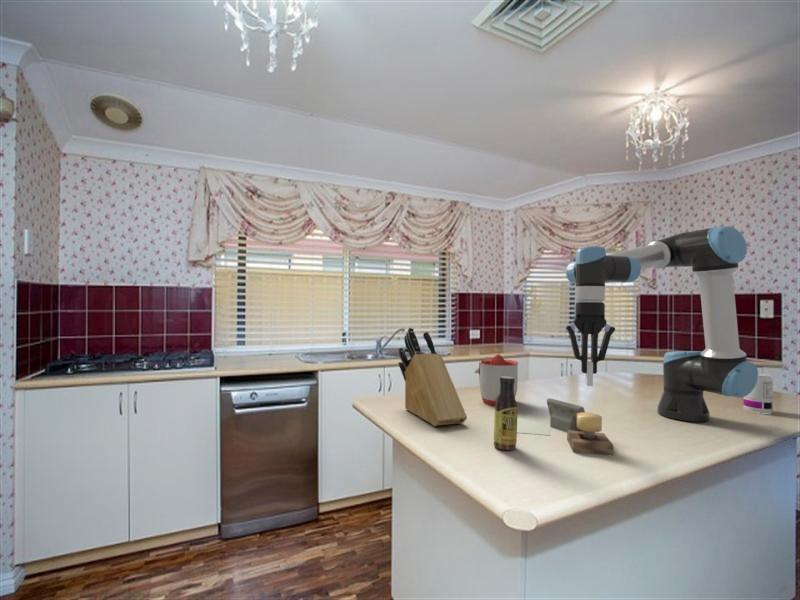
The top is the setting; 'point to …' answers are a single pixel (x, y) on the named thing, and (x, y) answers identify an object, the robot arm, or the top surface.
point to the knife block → (429, 384)
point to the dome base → (589, 443)
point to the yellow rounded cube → (589, 424)
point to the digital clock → (563, 415)
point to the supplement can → (760, 395)
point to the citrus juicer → (495, 377)
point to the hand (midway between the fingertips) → (588, 384)
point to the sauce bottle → (505, 415)
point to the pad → (531, 427)
